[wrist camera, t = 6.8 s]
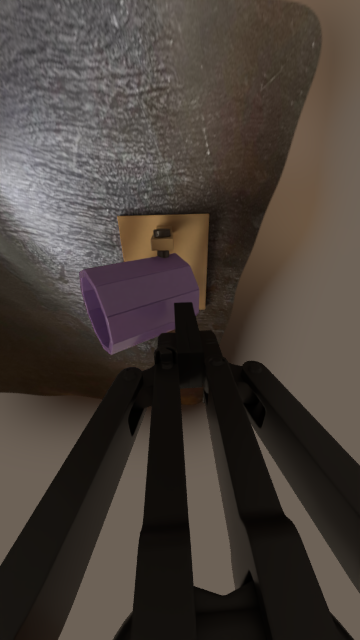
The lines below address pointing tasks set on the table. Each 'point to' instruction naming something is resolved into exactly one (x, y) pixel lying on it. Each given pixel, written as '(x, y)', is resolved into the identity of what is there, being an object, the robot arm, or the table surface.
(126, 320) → the cup
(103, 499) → the robot arm
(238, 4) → the table surface
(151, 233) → the swivel stand
